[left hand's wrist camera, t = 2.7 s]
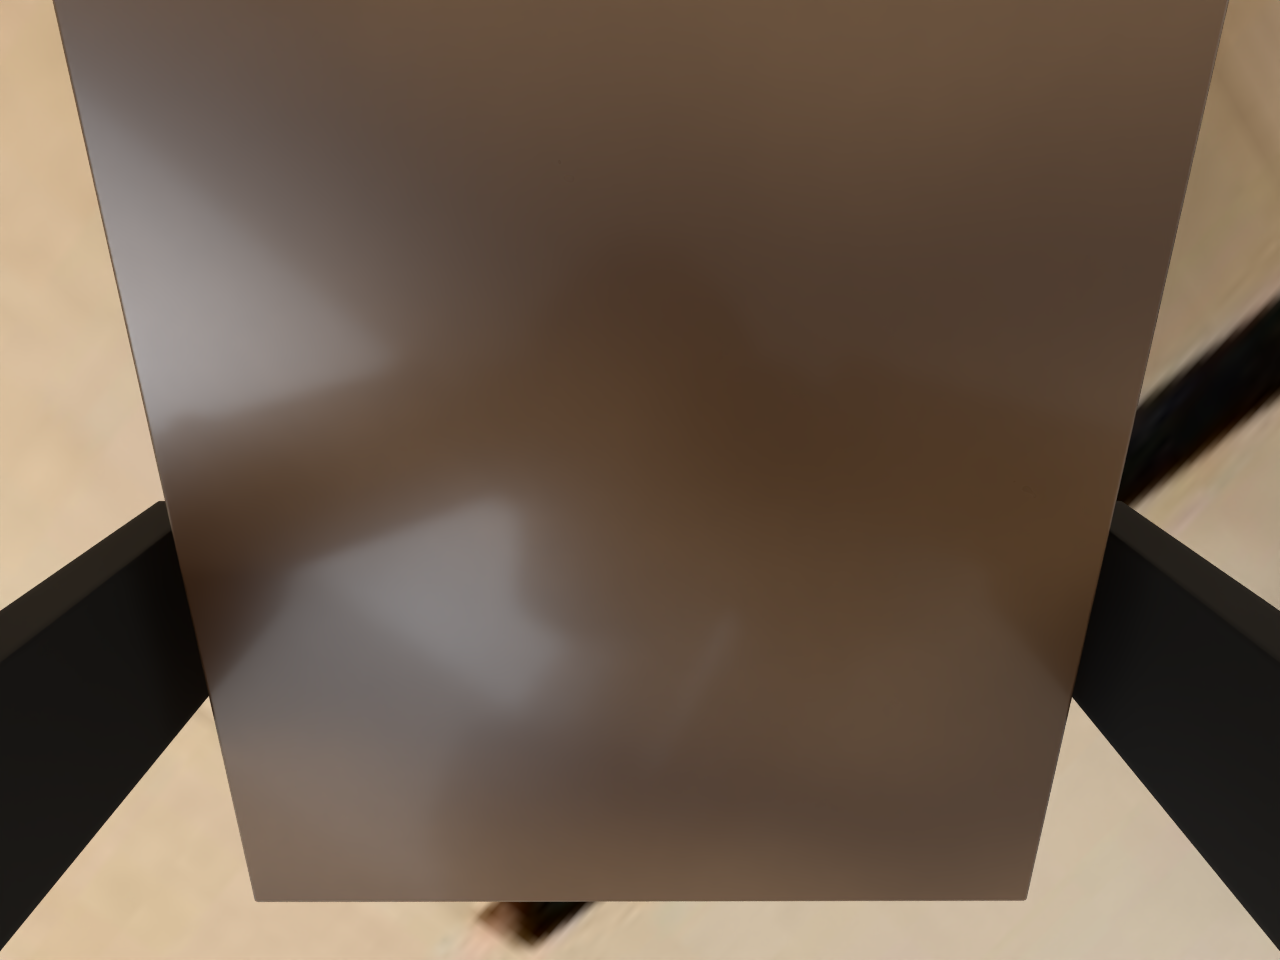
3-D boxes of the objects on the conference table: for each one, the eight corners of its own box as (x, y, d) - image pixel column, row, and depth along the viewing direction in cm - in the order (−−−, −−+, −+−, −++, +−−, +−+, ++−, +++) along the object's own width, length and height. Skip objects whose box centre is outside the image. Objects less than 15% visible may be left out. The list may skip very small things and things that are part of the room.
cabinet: (355, -345, 16) (-300, -1554, 5) (923, -344, 16) (1584, -1551, 5) (441, 549, 23) (254, 903, 12) (837, 549, 23) (1027, 902, 12)
